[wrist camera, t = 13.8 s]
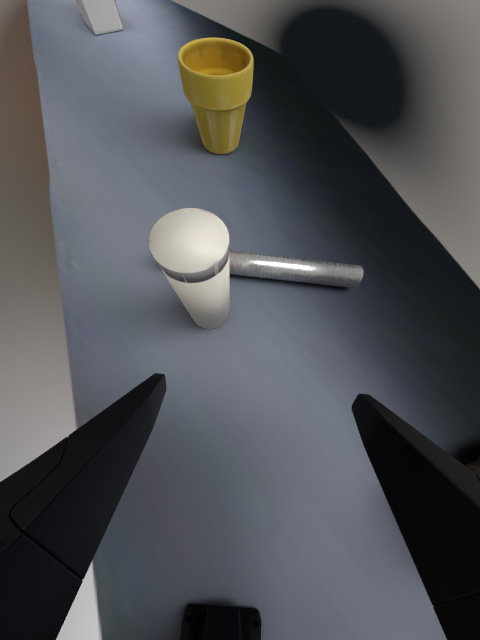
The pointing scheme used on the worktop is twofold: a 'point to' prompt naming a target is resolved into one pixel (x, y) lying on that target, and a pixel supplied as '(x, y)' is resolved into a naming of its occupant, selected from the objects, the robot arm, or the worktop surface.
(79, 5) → the medicine bottle
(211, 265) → the white grey cylinder
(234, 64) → the plant pot
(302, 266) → the grey steel rod
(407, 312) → the worktop surface
